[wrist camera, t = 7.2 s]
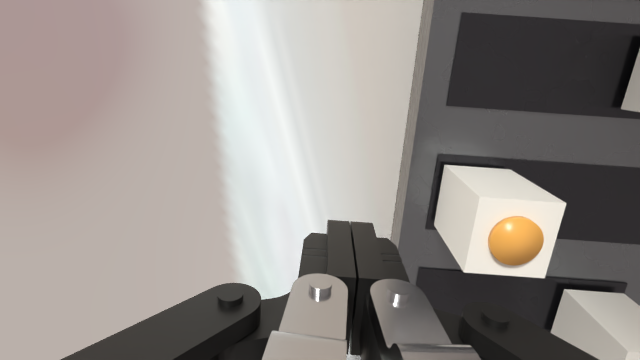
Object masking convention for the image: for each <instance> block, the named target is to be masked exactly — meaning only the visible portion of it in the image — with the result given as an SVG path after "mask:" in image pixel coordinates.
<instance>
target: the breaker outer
mask: <svg viewBox="0 0 640 360" xmlns="http://www.w3.org/2000/svg"><path fill="white" fill-rule="evenodd" d="M551 333H552V334H554V335H555V336H557V337H559V338H561V339H563V340H565V341H566V342H568V343H570V344H572V345H574V346H575V347H577V348H579V349H581V350H583V351H585V352H586V353H588V354H590V355H592V356H594V357H595V358H597V359H599V360H640V306H639V305H638V304H637V303H635V302H634V301H633V300H631V299H630V298H629V297H628V296H626V295H625V294H624V293H610V292H597V291H583V290H569V289H564V291H563V294H562V298H561V301H560V304H559V307H558V310H557V314H556V317H555V320H554V323H553V326H552V330H551Z"/></svg>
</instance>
